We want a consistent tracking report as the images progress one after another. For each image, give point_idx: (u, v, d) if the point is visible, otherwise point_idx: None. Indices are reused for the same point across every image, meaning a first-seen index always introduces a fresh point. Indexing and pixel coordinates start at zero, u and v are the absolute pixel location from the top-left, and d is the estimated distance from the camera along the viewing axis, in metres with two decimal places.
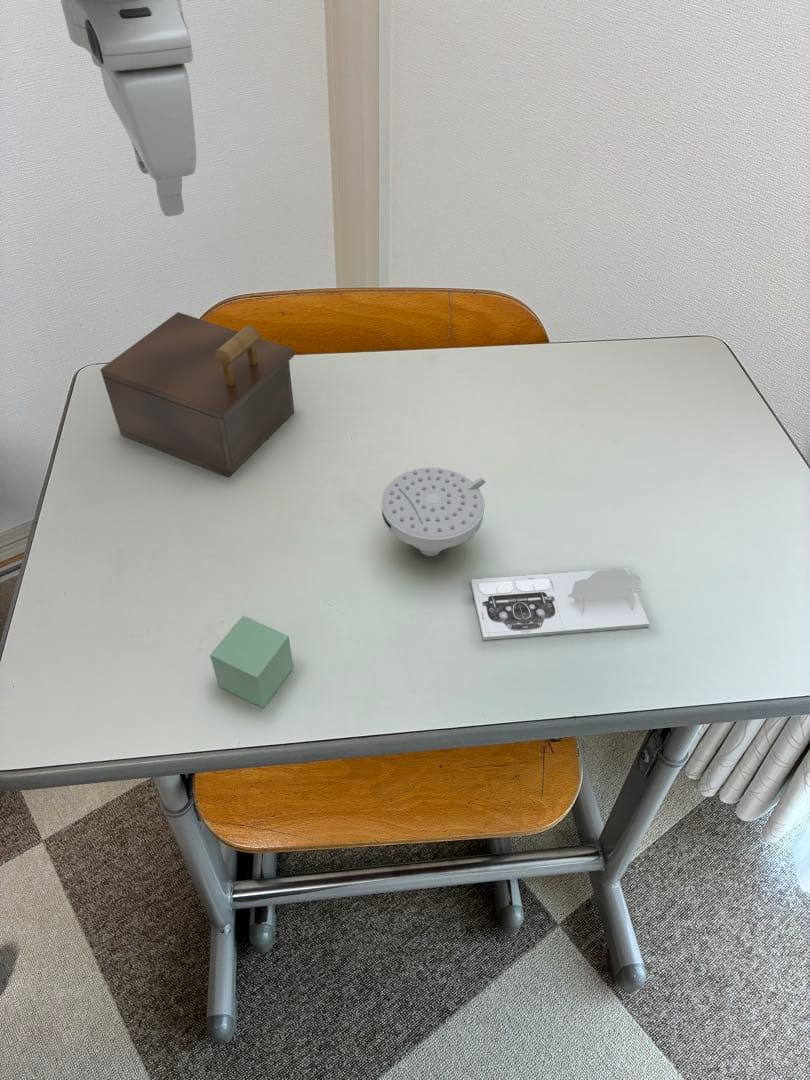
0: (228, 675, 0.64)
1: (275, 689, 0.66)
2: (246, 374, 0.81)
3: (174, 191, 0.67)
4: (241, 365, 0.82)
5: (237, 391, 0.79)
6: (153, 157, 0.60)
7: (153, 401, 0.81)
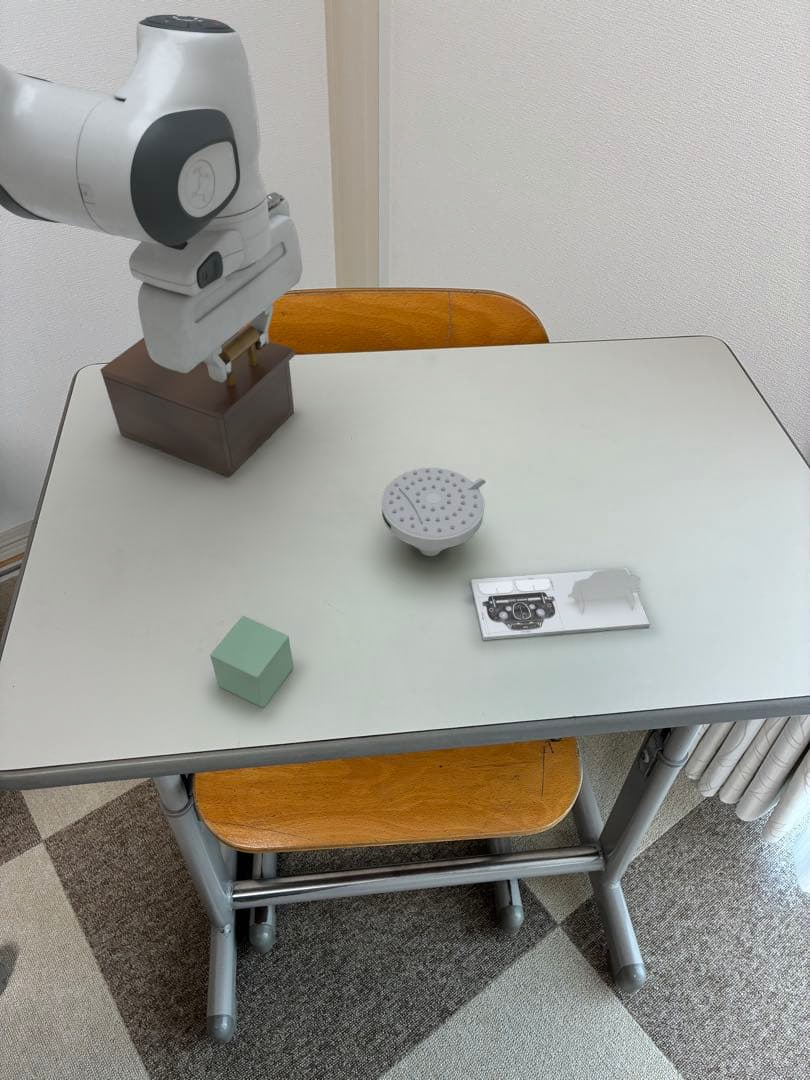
0: (228, 675, 0.64)
1: (275, 689, 0.66)
2: (246, 374, 0.81)
3: (214, 365, 0.76)
4: (241, 365, 0.82)
5: (237, 391, 0.79)
6: (150, 350, 0.70)
7: (153, 401, 0.81)
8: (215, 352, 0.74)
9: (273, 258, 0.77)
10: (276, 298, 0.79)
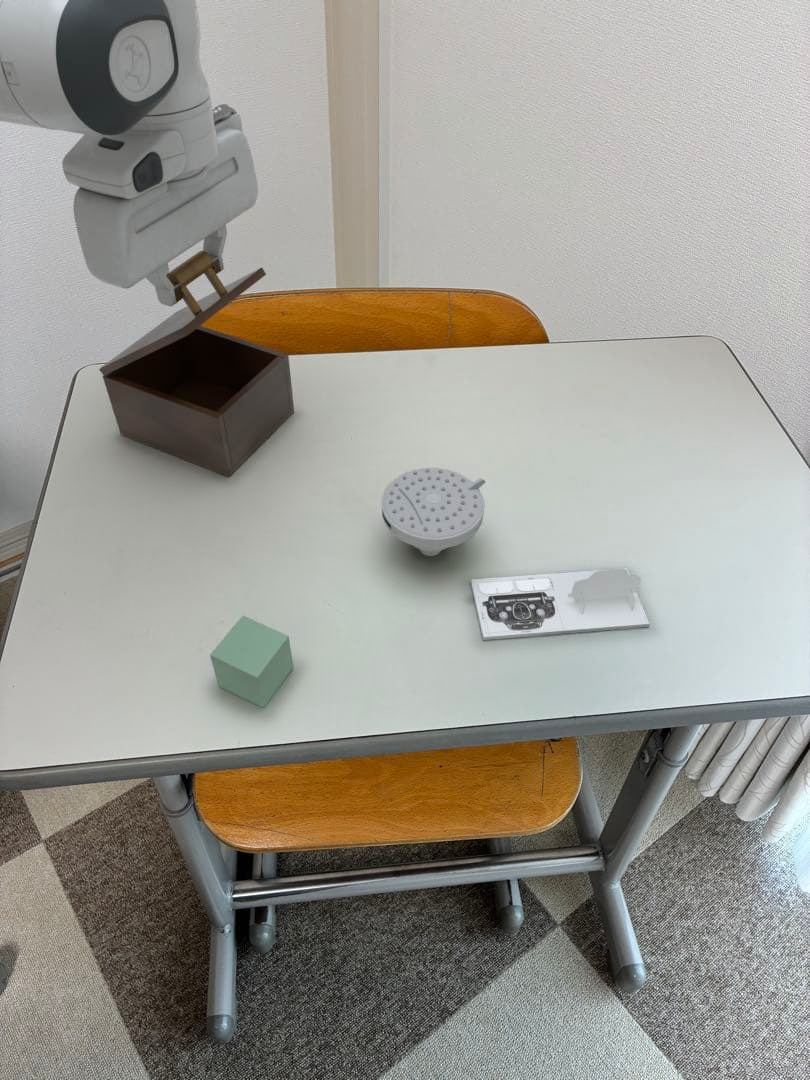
0: (228, 675, 0.64)
1: (275, 689, 0.66)
2: (213, 301, 0.77)
3: (162, 286, 0.72)
4: (212, 300, 0.78)
5: (201, 311, 0.74)
6: (88, 262, 0.66)
7: (153, 401, 0.81)
8: (161, 271, 0.71)
9: (224, 174, 0.73)
10: (229, 219, 0.75)
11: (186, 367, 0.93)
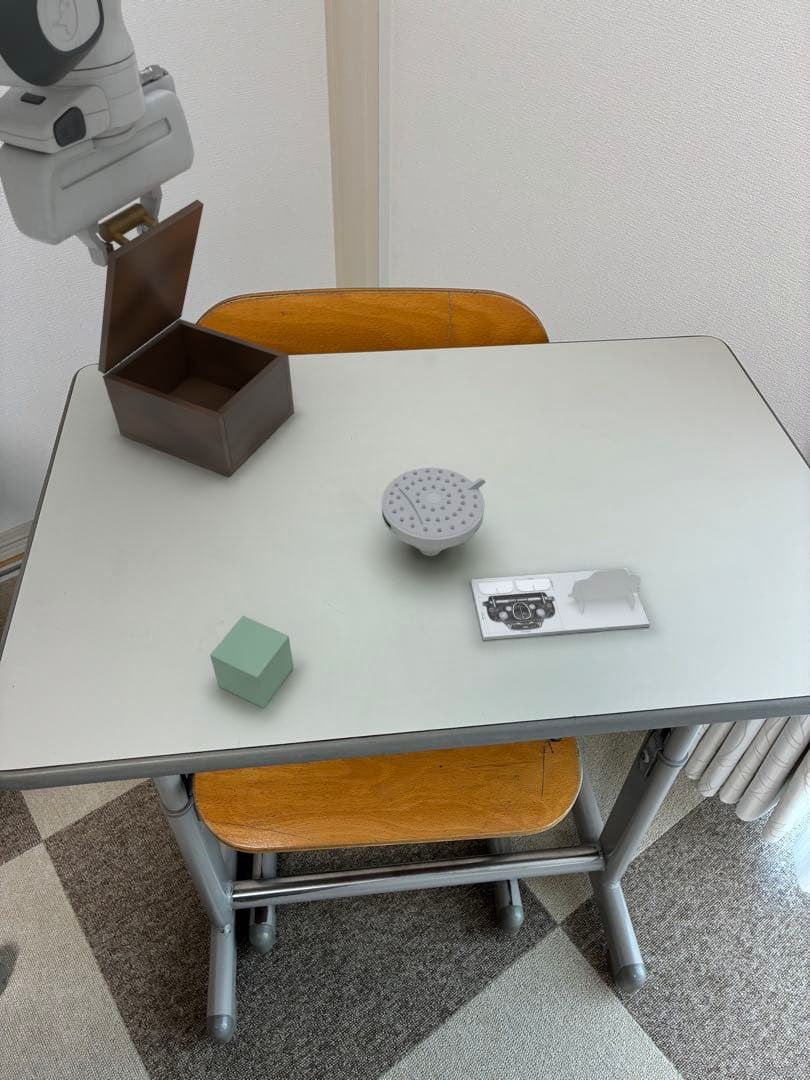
0: (228, 675, 0.64)
1: (275, 689, 0.66)
2: None
3: (93, 246, 0.73)
4: None
5: None
6: (15, 219, 0.67)
7: (153, 401, 0.81)
8: (91, 230, 0.71)
9: (156, 135, 0.73)
10: (163, 180, 0.76)
11: (186, 367, 0.93)
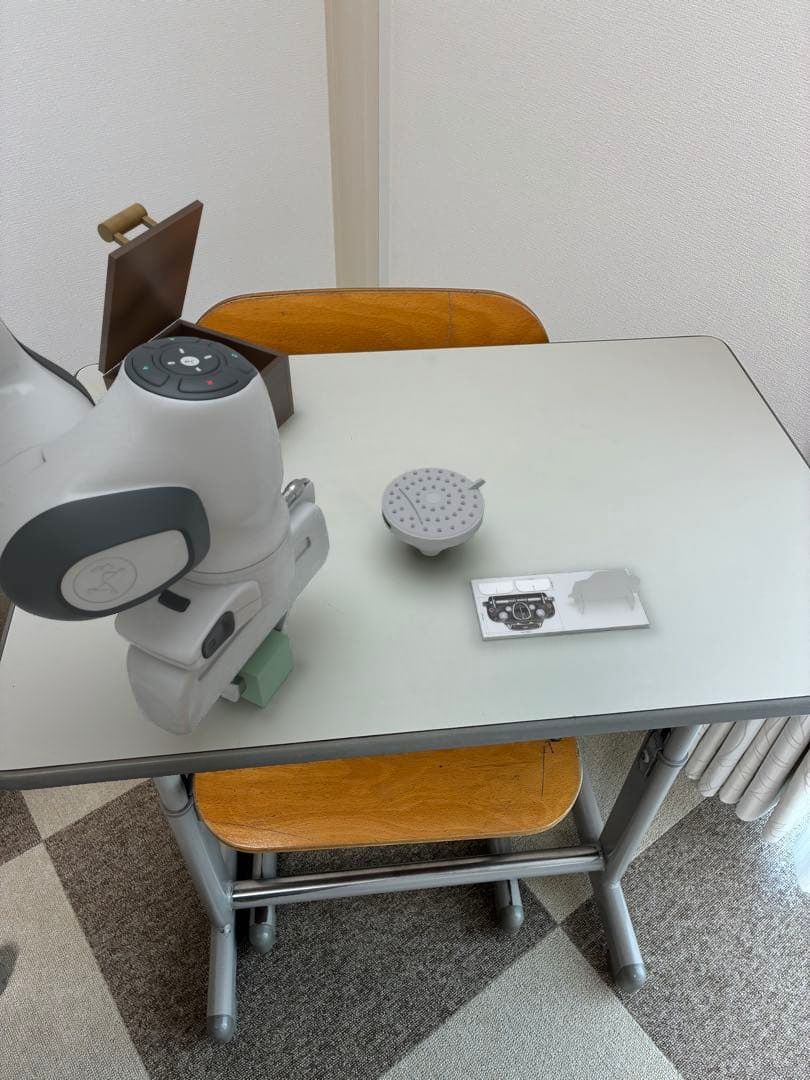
0: None
1: (275, 689, 0.66)
2: None
3: None
4: None
5: None
6: (142, 710, 0.55)
7: None
8: None
9: (295, 557, 0.62)
10: (298, 594, 0.64)
11: None
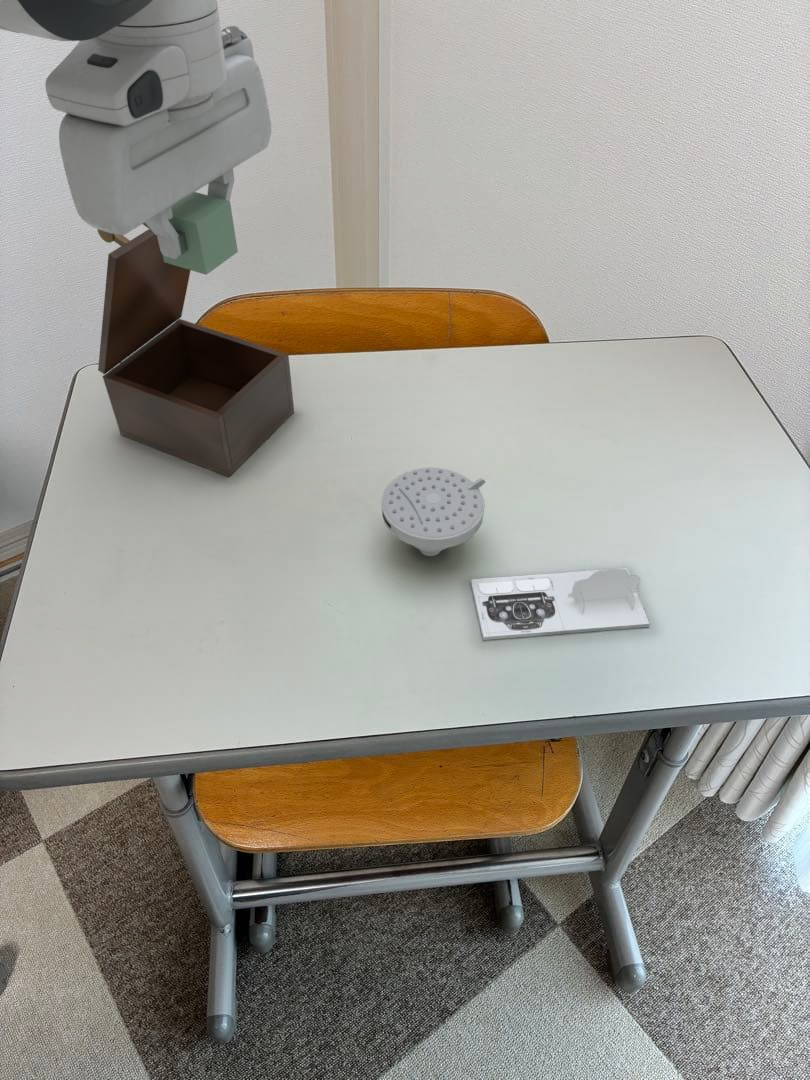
0: None
1: (218, 261, 0.67)
2: None
3: (165, 235, 0.63)
4: None
5: None
6: (77, 204, 0.57)
7: (153, 401, 0.81)
8: (164, 215, 0.62)
9: (233, 108, 0.64)
10: (239, 161, 0.66)
11: (186, 367, 0.93)
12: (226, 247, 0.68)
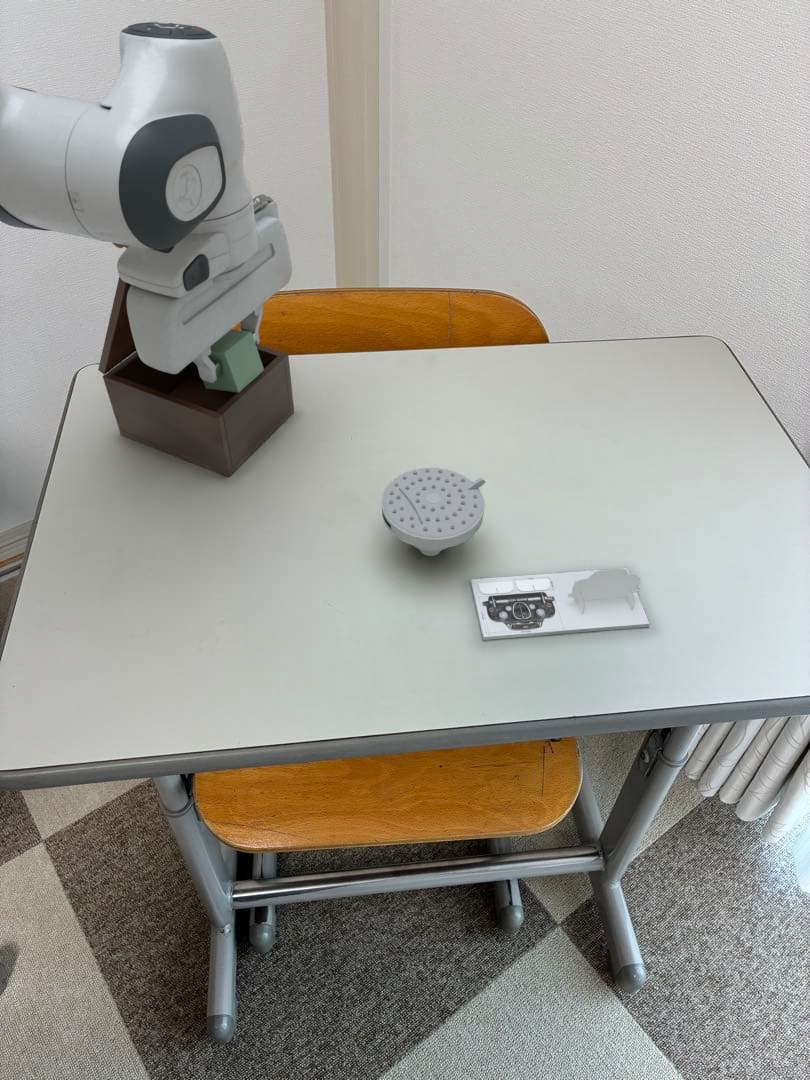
0: None
1: (248, 380, 0.81)
2: None
3: (204, 366, 0.77)
4: None
5: None
6: (139, 351, 0.71)
7: (153, 401, 0.81)
8: (204, 353, 0.75)
9: (262, 259, 0.78)
10: (266, 299, 0.80)
11: (186, 367, 0.93)
12: (253, 368, 0.82)
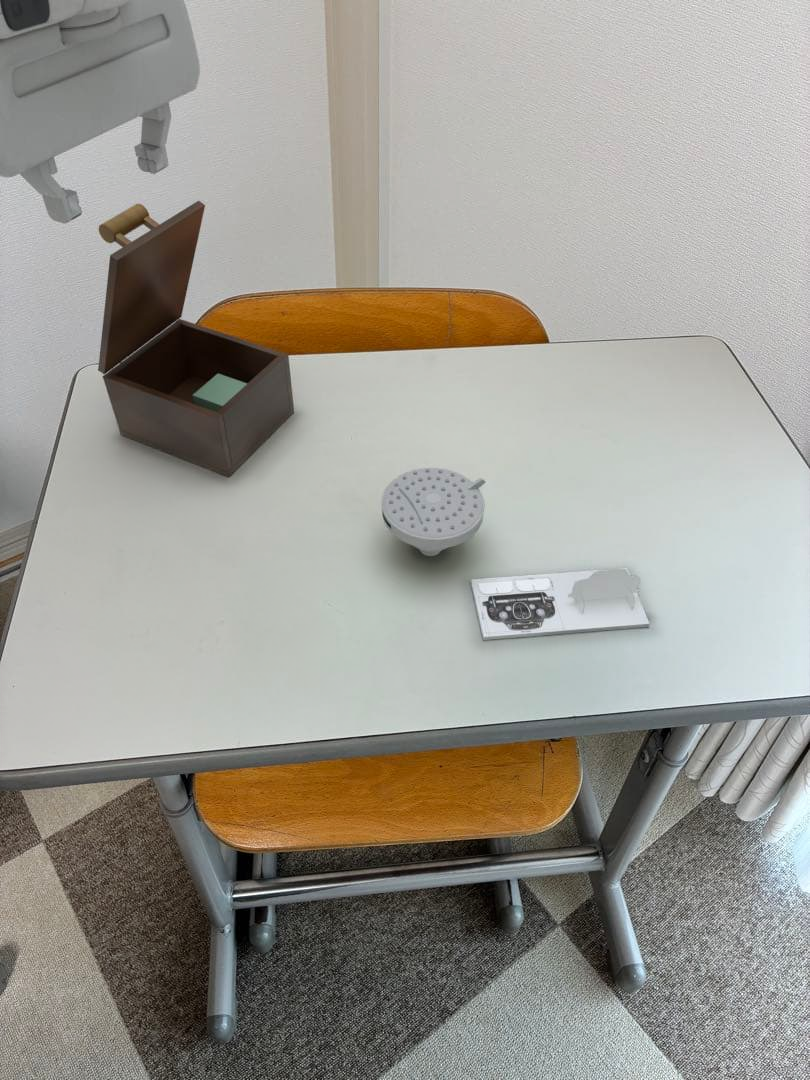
0: None
1: None
2: None
3: (49, 194, 0.53)
4: None
5: None
6: None
7: (153, 401, 0.81)
8: (45, 169, 0.52)
9: (150, 37, 0.55)
10: (159, 102, 0.57)
11: (186, 367, 0.93)
12: (236, 389, 0.85)
